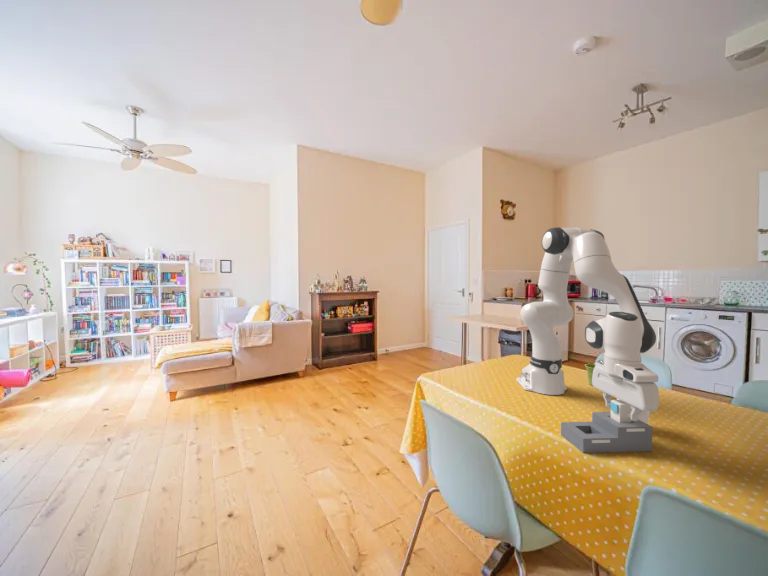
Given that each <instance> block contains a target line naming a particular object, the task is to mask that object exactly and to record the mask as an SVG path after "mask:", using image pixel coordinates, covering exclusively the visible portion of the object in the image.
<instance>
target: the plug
mask: <svg viewBox="0 0 768 576" xmlns="http://www.w3.org/2000/svg"><path fill="white" fill-rule="evenodd" d="M609 410H610V412H611V417H610V418H612V419H614V420H615V421H617V422H619V423H631V420H630V419H628V413H631V411H632V409H631V405H630V404H628V403H626V402H624V401H621V400H617V399H612V400H611V402H610V408H609Z"/></svg>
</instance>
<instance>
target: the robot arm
mask: <svg viewBox="0 0 768 576" xmlns="http://www.w3.org/2000/svg"><path fill="white" fill-rule="evenodd" d="M541 247H542V249H543V251H544V255H543V258H542V261H541V265H540V270H539V277H538V283H537V287H538V289H539V290H540V291H541V292H542V296H543V297H542V298H543V301H533V302H528V303H526V304H524V305H523V306H522V307H521V308H520V310H519V311H520V312H519V316H520V320H521V322H522V323H523V324H524V325H525V326H526V327H527V329H528V330H529V333H530V337H531V343H532V344H531V345H532V346H531V348H532V352H531V353H532V354H531V355H530V356H529V359H530V361H529V364H528V365H526V366H525V367H523V368H522V370H521V372H520V376H518V377H516V378H515V379H516V382H518V383H519V385H520V386H521V387H522V388H523V389H524V391H525V390H526V391H528V392H533V393H537V394H543V395H548V396H549V395H550V396H560V395H564V394H565V392H566V391H568V387H567V386H566V384H565V382H566V381H565V374H564V372H565V371H564V370H563V369H562V367H563V362H562V361H563V360H562V357H561V356H562V355H561V353H562V351H561V350H562V342H561V340H560V339H559V337H558V336H556V334H555V331H554V328H553V327H558V326H563V325H565V324H568V323H570V322H571V321H572V320H573V319H574V317H575V315H574V309H573V307H572V305H571V304H570V302H569V299H568V284H569V280H570V279H569V278H570V273H571V267H572V262H573V267H574V272H575V277H576V278H577V280H578V281H579V282H580V283H582V284H583V285H585V286H587V287H589V288H593V289H595V290H598V291H602V292H604V293H606V294H608V295H610V296H612V297H613V298H614V299H615V300H616V302H617V304H618V307H619V309H620V311H611V312H608V313H607V314H606V316H605V317H603V318H601V319H597V320H592V321H590V322H588V324H587V325H586V326H585V329H584V330H585V331H584V338H585V342H586V343H587V344H588V345H589V346H590V347H591V348H593V349H596V350H601V351H604V353H603V360H602V359H599V360H597V361H596V362H595V363H594V364H595V367H594V370H593V375H592V385H593V386H592V385H591V386H592V387H593V388H594V389H597V390H599V391H601V392H602V396H603V399H604V401H605V407H606V408H608V409H610V402H611V400H613V398H612V397H614V398H615V399H616V400H617V399H619V400H621V401H624V402H626V403H628V404H630V405H631V409H633V410H632V411H631V413H628V419H630V420H632V421H637V420H638V415H639V414H640V412H641V411H650V412H656V411H657V410H658V409H659V406H660V405H659V404H660V403H659V401H660V395H659V388H658V385H657V384H656V383H658V382H659V375H658V374H657V373H655V372H654V371H652V370H651V369H649V368H648V367H647V366H646V365H645V364H643V363H642V356H641V354H644V353H646V352H648V351H650V349H651V348H653V347H654V345H655V344H656V343H657V334H656V332H655V329H654V328H653V326H652V325H651V324H650V322H649V320H648V319H647V317H646V315H645V313H644V310H643V308H642V306H641V304H640V302H639V299H638V297H637V295H636V292H635V290H634V288H633V287H632V284H631V283H630V280H629V279H628V278H627V277H626V275H624V274H621V273H620V272H619V270H618V269H617V268H616V267H615V265H614V263H613V261H612V257H611V253H610V251H609V247H608V245H607V242H606V239H605V236H604V234H603V233H602V232H601V231H599V230H596V229H590V228H589V229H588V228H582V227H551V228H548V229H547V230H546V231H545V232H544V233H543V236H542V238H541Z"/></svg>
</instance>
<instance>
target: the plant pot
mask: <svg viewBox="0 0 768 576" xmlns="http://www.w3.org/2000/svg"><path fill="white" fill-rule="evenodd" d="M584 367H585V370H586V373H587V380H588V381H587V382H588V385H590V386H592V387H593V385H592V375H593V370H594V367H595V363H586V364H584Z"/></svg>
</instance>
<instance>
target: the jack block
mask: <svg viewBox="0 0 768 576" xmlns="http://www.w3.org/2000/svg"><path fill="white" fill-rule="evenodd" d="M591 415H592V416H591V418H592V419H591V421H561V422H560V435H561V436H562V438H564V439H565V438H566V439H565V440H567V441H568V442H569V443H570V444H571V445H572V446H574V447H575V448H576V449H577V450H579V451H581V453H582V454H585V453H586V454H587V453H588V454H591V453H627V452H628V453H629V452H630V453H631V452H634V453H636V452H637V453H638V452H653V449H652V448H653V426H652V425H650V424H649V423H648V424H646V423H644V422H642V421H640V420H639V419H638V420H637V421H632V420H631V423H619V422H617V421H615V420H614V419H612V418H610V417H611V411H593V412H592V414H591Z"/></svg>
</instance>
